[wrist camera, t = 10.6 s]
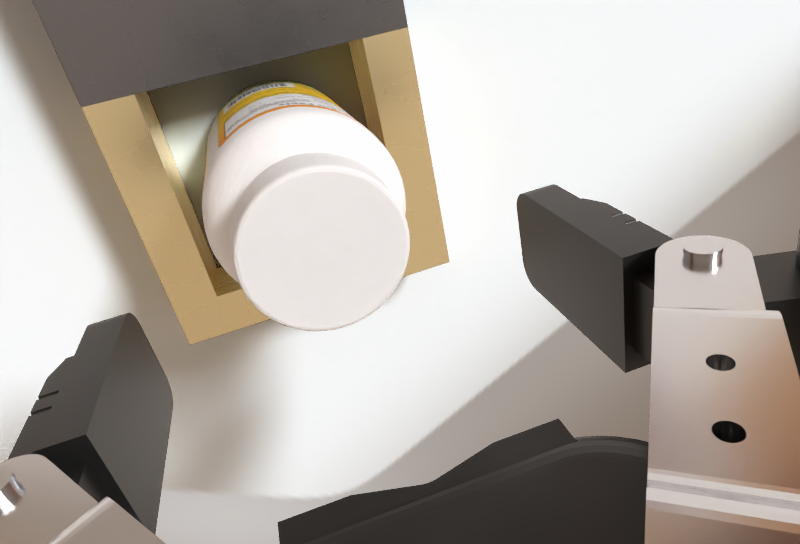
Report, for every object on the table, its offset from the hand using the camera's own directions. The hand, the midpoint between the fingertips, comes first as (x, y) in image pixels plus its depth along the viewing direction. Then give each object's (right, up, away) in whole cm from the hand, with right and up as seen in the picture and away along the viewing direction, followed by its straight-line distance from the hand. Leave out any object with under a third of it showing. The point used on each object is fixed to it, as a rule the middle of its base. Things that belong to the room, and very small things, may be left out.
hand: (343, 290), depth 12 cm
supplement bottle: (-3, +5, +10) cm, 11 cm away
